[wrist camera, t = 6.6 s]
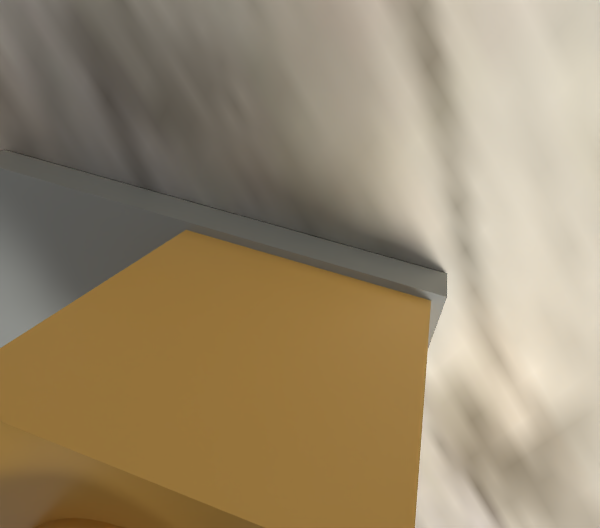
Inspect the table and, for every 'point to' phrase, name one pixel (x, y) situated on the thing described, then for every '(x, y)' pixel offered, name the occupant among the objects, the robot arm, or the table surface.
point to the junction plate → (140, 241)
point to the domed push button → (216, 399)
